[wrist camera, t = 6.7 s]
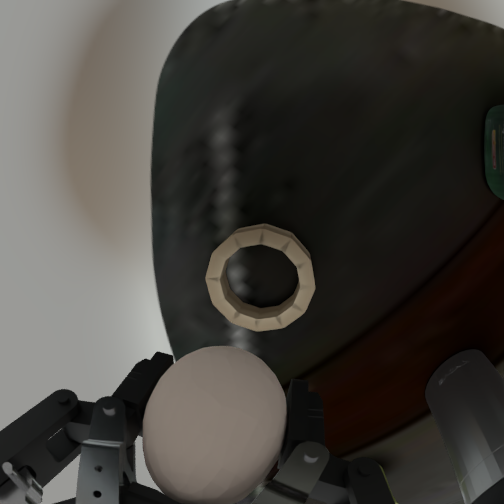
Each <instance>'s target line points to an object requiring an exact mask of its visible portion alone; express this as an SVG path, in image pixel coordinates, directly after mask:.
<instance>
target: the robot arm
mask: <svg viewBox="0 0 504 504" xmlns="http://www.w3.org/2000/svg"><path fill="white" fill-rule="evenodd" d="M173 364H174V361H173V356H172V355H169V354H165V353H161V352H156V353H155V354H154V356H153V357H152V358H151V360H148V359H144V360H142V361H140V362H138V363H137V364H136V365H135V366H134V368H133V369H132V370H131V372H130V373H129V374H128V375H127V377H126V378H125V379H124V381H123V382H122V383H121V384H120V386H119V387H118V388H117V390H116V391H115V392H114V393H113V395H112V396H106V397H102V398H100V399H99V400H97V401H96V402H87V401H80V400H78V398H77V395H76V394H75V393H74V392H72V391H70V390H66V389H61V390H57V391H55V392H54V393H53V394H51V395H50V396H48V397H47V398H45V399H44V400H43V401H41V402H40V403H39V404H37V405H36V406H34V407H33V408H32V409H30V410H29V411H27V412H26V413H25V414H23V415H22V416H21V417H19V418H18V419H17V420H15V421H14V422H12V423H11V424H10V425H8V426H7V427H6V428H4V429H3V430H1V431H0V504H40V503H41V502H42V495H43V491H42V488H43V487H44V486H45V485H46V484H47V483H49V482H50V481H51V480H52V479H53V478H54V477H55V476H56V475H57V474H58V473H60V472H61V471H62V470H63V469H64V468H65V467H66V466H67V465H68V464H69V463H70V462H72V461H73V460H74V459H75V458H76V457H77V456H78V455H79V454H80V453H81V455H80V463H79V471H78V481H77V491H76V497H75V498H72V499H68V500H65V501H61V502H58V503H54V504H182V503H179V502H177V501H175V500H173V499H171V498H170V497H168V496H166V495H164V494H163V493H161V492H159V491H158V490H155V489H152V488H150V487H147V486H144V485H141V484H139V483H137V481H136V471H135V470H136V469H135V440H136V438H137V436H138V435H139V436H141V437H143V418H144V414H145V409H146V405H147V403H148V401H149V399H150V396H151V394H152V392H153V390H154V388H155V387H156V385H157V383H158V381H159V380H160V378H161V377H162V376H163V375H164V373H165V372H166V371H167V370H168V369H169V368H170V367H171V365H173ZM425 397H426V401H427V403H428V405H429V407H430V410H431V412H432V414H433V417H434V419H435V422H436V424H437V427H438V429H439V432H440V434H441V437H442V439H443V442H444V444H445V447H446V450H447V452H448V455H449V458H450V460H451V463H452V466H453V469H454V472H455V475H456V477H457V480H458V483H459V487H460V489H461V492H462V495H463V499H464V502H465V504H504V379H503V378H502V377H501V375H500V374H499V373H498V371H497V370H496V369H495V367H494V366H493V365H492V363H491V362H490V361H489V360H488V359H487V357H486V356H485V355H484V354H483V353H482V352H481V351H479V350H476V349H470V350H465V351H462V352H459V353H458V354H456V355H454V356H452V357H451V358H449V359H448V360H446V361H445V362H444V363H443V364H442V365H441V366H440V367H439V368H438V369H437V370H436V371H435V372H434V374H433V375H432V377H431V378H430V380H429V382H428V384H427V387H426V390H425ZM286 405H287V417H288V421H287V429H286V436H285V441H284V444H283V447H282V450H281V453H280V456H279V460H278V469H280V471H279V472H278V473H277V475H276V476H275V478H274V479H273V480H272V481H271V482H269V483H268V484H267V485H266V486H265V487H264V489H263V490H262V491H261V492H260V494H259V495H258V496H257V497H256V499H255V500H254V501H253V502H252V504H304V503H305V502H306V500H307V498H308V497H310V498H313V499H316V500H319V501H322V502H326V504H395V502H394V499H393V497H392V494H391V492H390V489H389V487H388V484H387V482H386V479H385V477H384V474H383V472H382V469H381V467H380V465H379V464H378V463H377V462H376V461H375V460H373V459H370V458H366V457H361V458H357V459H354V460H353V461H352V462H349V461H346V460H342V459H339V458H336V457H334V456H333V455H331V454H330V453H329V452H328V450H327V449H326V447H325V441H324V418H323V401H322V399H321V398H320V396H319V394H318V393H315V392H308V381H306V380H298V379H292V380H291V383H290V387H289V391H288V394H287V398H286ZM61 428H62V429H61ZM60 429H61V430H60ZM59 430H60V431H59ZM56 432H57V433H56ZM55 433H56V434H55ZM54 434H55V435H54ZM53 435H54V436H53ZM50 437H51V438H50ZM49 438H50V439H49ZM48 439H49V440H48Z"/></svg>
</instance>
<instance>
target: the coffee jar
mask: <svg viewBox="0 0 504 504" xmlns="http://www.w3.org/2000/svg"><path fill="white" fill-rule="evenodd" d="M484 161H485V175H486V180H487V183H488V185H489V187H490V189H491V190H492V192H493V193H494V194H495V195H496V196H498V197H499V198H501V199H503V200H504V105H498V106H494V107H492V108H491V109H490V110H489V112H488V113H487V116H486V120H485V136H484Z"/></svg>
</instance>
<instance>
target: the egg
mask: <svg viewBox="0 0 504 504" xmlns="http://www.w3.org/2000/svg"><path fill="white" fill-rule="evenodd" d="M287 421H288V417H287V405H286V398H285V394H284V391H283V389H282V387H281V385H280V383H279V381H278V379H277V377H276V375H275V374H274V373H273V372H272V371H271V369H270V368H269V367H268V366H267V365H266V364H265V363H264V362H263V361H262V360H261V359H259V358H258V357H256V356H255V355H253V354H252V353H250V352H247V351H245V350H242V349H240V348H235V347H230V346H213V347H206V348H202V349H199V350H197V351H194V352H192V353H190V354H187V355H185V356H184V357H182V358H181V359H180V360H178V361H177V362H176V363H174V364H173V365H171V367H170V368H169V369H168V370H167V371H166V372H165V373H164V375H163V376H162V377H161V378H160V380H159V381H158V383H157V385H156V387H155V388H154V390H153V392H152V394H151V396H150V399H149V401H148V403H147V405H146V409H145V414H144V418H143V452H144V458H145V463H146V466H147V469H148V471H149V473H150V475H151V477H152V479H153V481H154V482H155V483H156V485H157V486H158V487H159V488H160V490H161V491H162V492H163V493H164V494H165V495H166V496H168V497H170V498H171V499H173V500H175V501H177V502H179V503H182V504H234V503H236V502H238V501H240V500H242V499H244V498H245V497H246V496H247V495H248V494H250V493H251V492H252V491H253V490H254V489H255V488H256V487H257V486H258V485H259V484H260V483H261V482H262V481H263V480H264V479H265V477H266V476H267V474H268V473H269V472H270V470H271V469H272V467H273V466H274V464H275V463H276V461H277V460H278V458H279V456H280V453H281V450H282V447H283V444H284V441H285V436H286V429H287Z"/></svg>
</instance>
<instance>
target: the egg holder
mask: <svg viewBox="0 0 504 504" xmlns="http://www.w3.org/2000/svg"><path fill="white" fill-rule="evenodd" d="M258 244H263V245H266V246H269V247H272V248H275V249H278V250H281V251H283V252H284V253H285V254H286V255H287V257H288V258H289V259H290V260H291V261H292V262H293V263H294V264H295V266H296V267H297V271H298V276H299V282H298V284H297V287H296V289H295V292H294V294H293V295H292V296H291V297H290V298H288V299H287V300H286V301H284V302H283V303H282V304H280V305H279V306H272V307H266V308H258V307H255V306H253V305H250V304H247V303H244V302H242V301H241V300H240V299H239V298H238V297H237V296H236V295H235V293H234V292H233V291H232V290H231V289H230V287H229V283H228V279H227V275H226V268H227V264H228V261H229V258H230V256H231V255H233V254H234V253H235V252H236V251H237V250H238V249H239V248H242V247H247V246H253V245H258ZM206 283H207V286H208V290H209V293H210V297H211V300H212V303H213V305H214V306H215V307H216V308H217V309H218V310H219V311H220V312H221V313H222V314H223V315H224V316H225V317H226V318H227V319H228V320H229V321H230V322H232V323H234V324H236V325H239V326H242V327H245V328H248V329H251V330H254V331H265V330H273V329H280V328H284V327H286V326H287V325H289V324H290V323H291V322H293V321H294V320H296V319H297V318H298V317H300V316H301V315H302V314H304V313H305V311H306V309H307V307H308V305H309V302H310V300H311V298H312V295H313V293H314V291H315V281H314V275H313V269H312V263H311V257H310V253H309V252H308V250H307V249H306V248H305V247H304V246H303V245H302V244H301V242H300V241H299V240H298V239H297V238H296V237H295V235H294V234H293V233H291V232H289V231H286V230H283V229H280V228H277V227H275V226H272V225H269V224H265V223H264V224H259V225H254V226H249V227H244V228H239V229H237V230H236V231H235V232H234V233H233V234H232V235H231V236H229V237H228V238H227V239H226V240H225V241H224V242H223V243H222V244H221V245H220V246H218V248H217V249H216V250H215V251H214V252H213V253H212V256H211V259H210V263H209V267H208V270H207V274H206Z"/></svg>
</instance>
